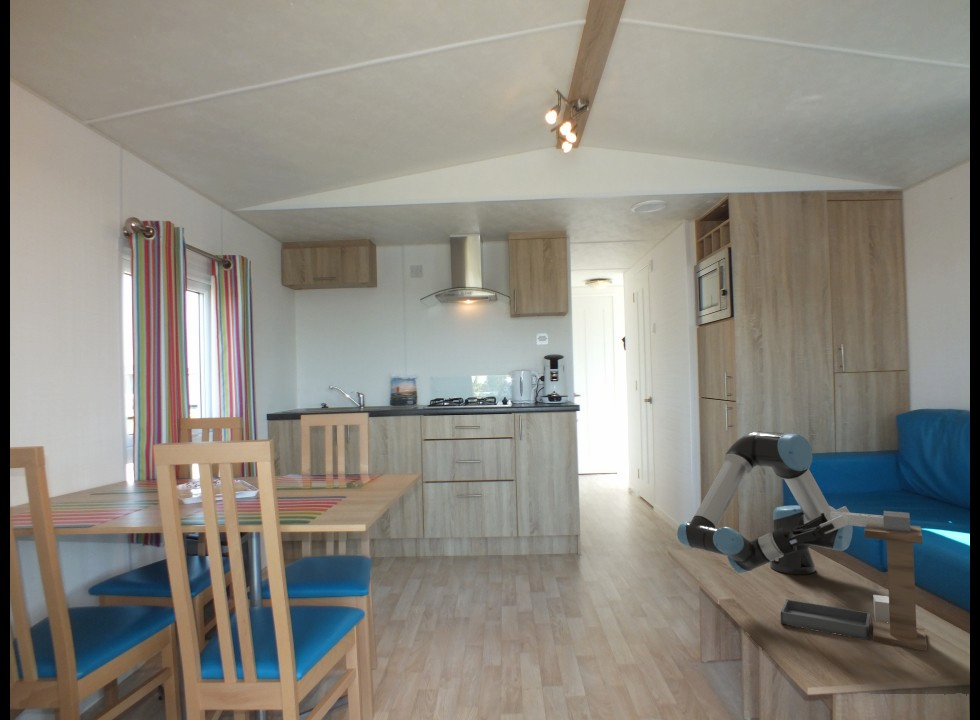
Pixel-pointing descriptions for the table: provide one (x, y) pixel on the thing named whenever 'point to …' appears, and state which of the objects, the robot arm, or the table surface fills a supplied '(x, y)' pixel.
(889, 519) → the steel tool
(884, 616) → the white cube
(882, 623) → the shelf post
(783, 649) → the table surface
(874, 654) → the table surface
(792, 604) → the tray
